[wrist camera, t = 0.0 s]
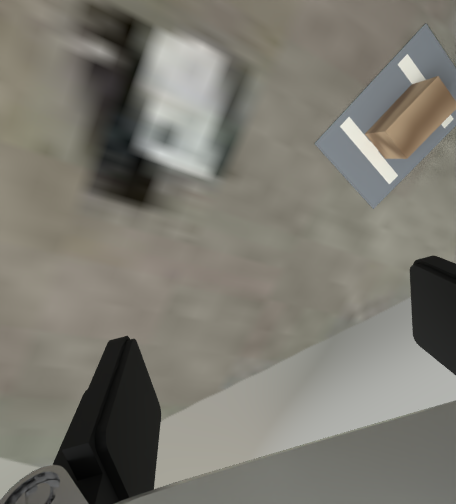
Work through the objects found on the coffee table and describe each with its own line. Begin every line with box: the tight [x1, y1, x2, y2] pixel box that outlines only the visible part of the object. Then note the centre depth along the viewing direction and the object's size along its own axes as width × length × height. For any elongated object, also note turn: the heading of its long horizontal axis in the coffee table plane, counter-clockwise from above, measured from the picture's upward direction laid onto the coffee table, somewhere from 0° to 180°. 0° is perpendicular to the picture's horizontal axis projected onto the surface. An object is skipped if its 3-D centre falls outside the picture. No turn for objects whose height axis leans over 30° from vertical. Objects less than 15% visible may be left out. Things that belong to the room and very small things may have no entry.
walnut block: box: [365, 76, 456, 159], centre depth 44 cm, size 5×9×5 cm, turn 137°
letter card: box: [314, 24, 456, 209], centre depth 46 cm, size 14×21×1 cm, turn 137°
